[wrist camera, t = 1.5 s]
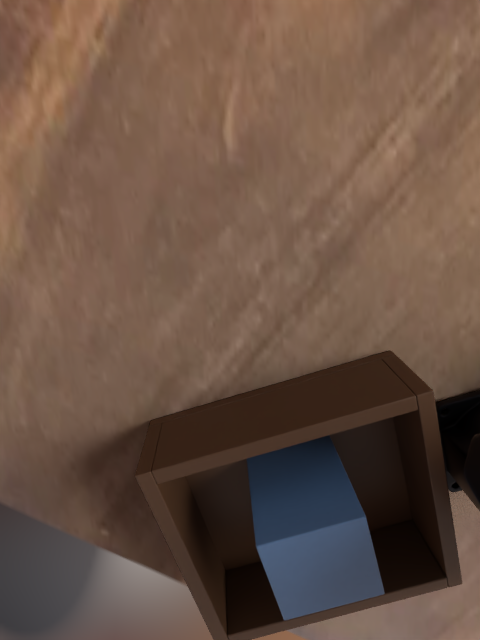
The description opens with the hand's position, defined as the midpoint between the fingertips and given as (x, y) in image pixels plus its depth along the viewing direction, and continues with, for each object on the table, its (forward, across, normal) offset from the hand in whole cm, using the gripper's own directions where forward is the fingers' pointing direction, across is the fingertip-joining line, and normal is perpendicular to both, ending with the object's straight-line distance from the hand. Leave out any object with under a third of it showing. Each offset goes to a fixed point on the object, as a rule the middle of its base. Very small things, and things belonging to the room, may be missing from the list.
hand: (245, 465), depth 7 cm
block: (+12, -5, +12) cm, 18 cm away
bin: (+13, -5, +12) cm, 19 cm away
